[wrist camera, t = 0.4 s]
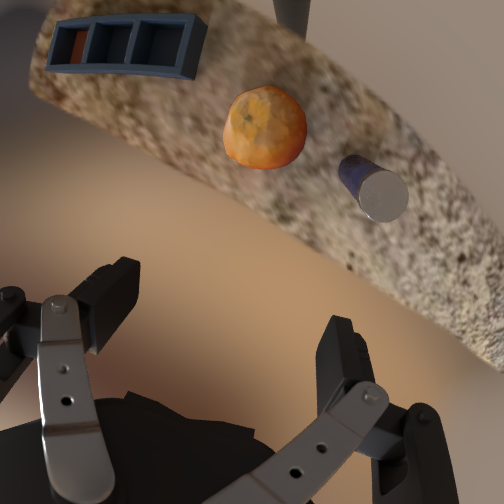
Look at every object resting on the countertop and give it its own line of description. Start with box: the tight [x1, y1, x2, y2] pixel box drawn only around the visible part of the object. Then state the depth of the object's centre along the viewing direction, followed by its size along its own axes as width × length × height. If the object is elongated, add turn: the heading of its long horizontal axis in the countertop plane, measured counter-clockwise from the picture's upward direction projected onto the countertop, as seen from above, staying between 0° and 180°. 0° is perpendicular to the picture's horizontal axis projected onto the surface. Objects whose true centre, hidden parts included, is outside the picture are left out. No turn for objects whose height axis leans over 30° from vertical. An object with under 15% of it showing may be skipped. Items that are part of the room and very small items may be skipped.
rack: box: [45, 13, 208, 80], centre depth 27 cm, size 7×18×4 cm, turn 77°
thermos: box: [338, 155, 408, 222], centre depth 27 cm, size 4×4×12 cm
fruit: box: [223, 86, 307, 170], centre depth 29 cm, size 8×8×8 cm
